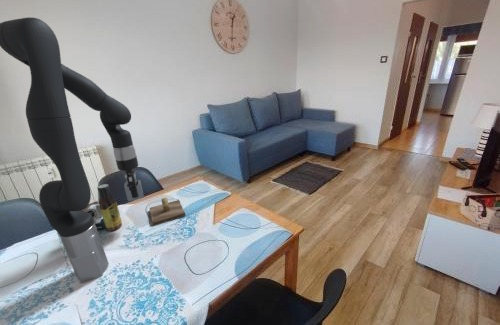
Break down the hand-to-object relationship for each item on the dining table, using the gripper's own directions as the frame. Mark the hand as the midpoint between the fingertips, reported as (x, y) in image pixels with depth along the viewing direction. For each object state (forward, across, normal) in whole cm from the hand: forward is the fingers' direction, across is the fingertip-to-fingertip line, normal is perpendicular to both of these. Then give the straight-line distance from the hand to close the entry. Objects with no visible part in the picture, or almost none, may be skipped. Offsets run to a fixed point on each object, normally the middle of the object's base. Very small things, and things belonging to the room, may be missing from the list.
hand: (135, 194), depth 98 cm
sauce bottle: (+15, +3, +11) cm, 19 cm away
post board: (+14, +2, -11) cm, 18 cm away
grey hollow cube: (+1, 0, 0) cm, 1 cm away
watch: (+15, +6, +17) cm, 23 cm away
